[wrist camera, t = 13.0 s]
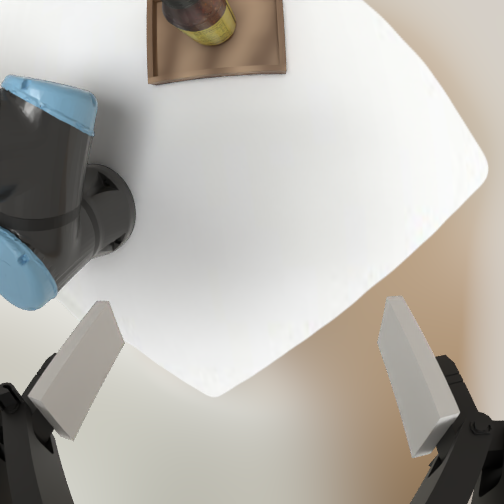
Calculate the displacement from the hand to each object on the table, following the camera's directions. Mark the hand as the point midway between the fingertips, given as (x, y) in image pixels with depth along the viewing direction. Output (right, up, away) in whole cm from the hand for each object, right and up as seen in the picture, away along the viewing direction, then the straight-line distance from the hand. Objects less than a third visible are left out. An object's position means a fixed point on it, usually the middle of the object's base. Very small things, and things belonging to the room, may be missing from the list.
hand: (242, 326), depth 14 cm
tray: (-4, +33, +20) cm, 39 cm away
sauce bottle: (-5, +33, +19) cm, 38 cm away
